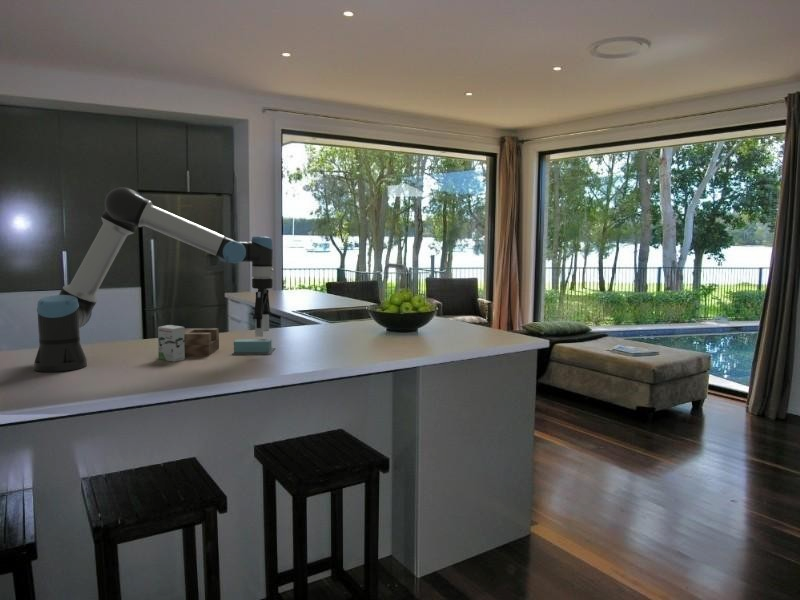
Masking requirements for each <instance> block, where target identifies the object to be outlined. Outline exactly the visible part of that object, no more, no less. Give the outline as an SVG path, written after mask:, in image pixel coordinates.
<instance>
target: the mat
mask: <svg viewBox="0 0 800 600" xmlns="http://www.w3.org/2000/svg"><path fill="white" fill-rule="evenodd" d="M275 350H276V347H272V349H271V351H270V352H234V351H233V352H232V354H231V355H232V356H247V355H248V356H250V355H252V356H255V355H257V356H258V355H259V356H260V355H262V356H263V355H264V356H266V355H267V356H268V355H269V356H270V354H271V355H272V354H273V352H274V351H275Z"/></svg>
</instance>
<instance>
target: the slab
mask: <svg viewBox="0 0 800 600" xmlns="http://www.w3.org/2000/svg"><path fill="white" fill-rule="evenodd" d="M272 348H273V345H272V338H241V339H240V338H238V339H237V338H236V339H235V340H234V341H233V353H234V352H270V351H271V349H272Z"/></svg>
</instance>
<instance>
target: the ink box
mask: <svg viewBox="0 0 800 600" xmlns="http://www.w3.org/2000/svg"><path fill="white" fill-rule="evenodd" d="M184 328H185V327H184V326H180V325H173V324H166V325H162V326H158V327H157V340H158V343H157V345H158V347H157V348H158V351H157V352H158V355H157V356H158V360H162V361H168V362H169V361H170V362H179V361H183V360H185V359H186V356H185V347H184Z"/></svg>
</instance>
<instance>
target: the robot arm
mask: <svg viewBox="0 0 800 600" xmlns="http://www.w3.org/2000/svg"><path fill="white" fill-rule="evenodd" d="M104 208H105V209H104V211H103V213H102V215H101V217H100V218H101V221H102V225H101V227H100V228H99V231H98V233H97V234H96V236H95V238H94V240H93V242H92V243H91V245H90V247H89V248H88V250H87V253H86V254H85V256H84V258H83V260H82V261H81V263H80V266H79V267H78V269H77V271H76V273H75V274H74V277H73V278H72V280H71V282H70V283H69V284H68V285H63V287H62V288H61V290H60V292H59V294H55V295H50V296H44V297H41V298H39V300H38V301H37V305H36V306H37V308H36V312H37V324H38V327H37V328H38V343H39V346H38V349H37V352H36V357H35V358H34V359H35V360H34V363H33V367H34V371H36V372H39V373H40V372H42V373H56V372H57V373H58V372H66V371H67V372H68V371H73V370H78V369H83V368H85V367H87V366H88V359H87V356H86V354H85V352H84V350H83V347H82V345H81V339H80V338H81V337H80V329H81V328H83V327H84V326H86V324H87V323H88V322H89V321H90V319H91V317H92V312H93V310H94V308H95V306H96V304H97V302H98V299H97V297H96V294H97V292H98V291H99V289H100V286H101V285H102V283H103V281H104V279H105V278H106V276H107V274H108V272H109V270H110V268H111V266H112V264H113V262H114V261H115V259H116V257H117V255H118V254H119V252H120V250H121V248H122V246H123V244H124V243H125V240H126V239H127V237H128V236H130V235H133V234H135V232H136V230H137V228H142V227H147V228H149V229H150V230H153V231H156V232H158V233H160V234H162V235H165V236H167V237H169V238H173V239H174V240H177V241H180V242H182V243H185V244H187V245H189V246H191V247H193V248H196V249H199V250H201V251H204V252H205V253H209V254H211V255H213V256H216V257H218V260H219V261H220V262H224V263H225V262H226V263H230V264H238V263H243V262H245V263H249V262H251V277H253V278H251V287H252V289H256V290H257V291H255V301H254V302H255V303H254V304H255V305H254V314H253V316H252V319H253V320H255V321H254V326H255V327H254V330H255V331H254V332H255V334H254V335H255V336H254V337H259V338H262V337H264V332H270V315H272V311H271V309H270V297H269V296H270V295H269V292H270V291H269V289H272V288H273V272H274V271H275V270H274V268H273V254H274V253H273V250H274V249H273V239H272V237H269V236H252V238H251V240H250V241H237V240H234V239H233V238H230V237H227V236H225V235H223V234H220V233H218V232H217V231H214V230H211V229H209V228H207V227H204V226H202V225H200V224H198V223H195V222H193V221H192V220H191V221H190V220H188V219H186V218H184V217H181V216H178V215H176V214H174V213H172V212H170V211H168V210H165V209H163V208H160V207H158V206H156V205H154V204H153V202H152V200H150V199H147V198H146V197H144V196H143V195H142V194H141V193H139V191H136V190H133V189H132V188H129V187H123V186H119V187H116V188H113V189H112V190H111V191H109V192H108V193H107V195H106V196H105V200H104Z"/></svg>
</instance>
